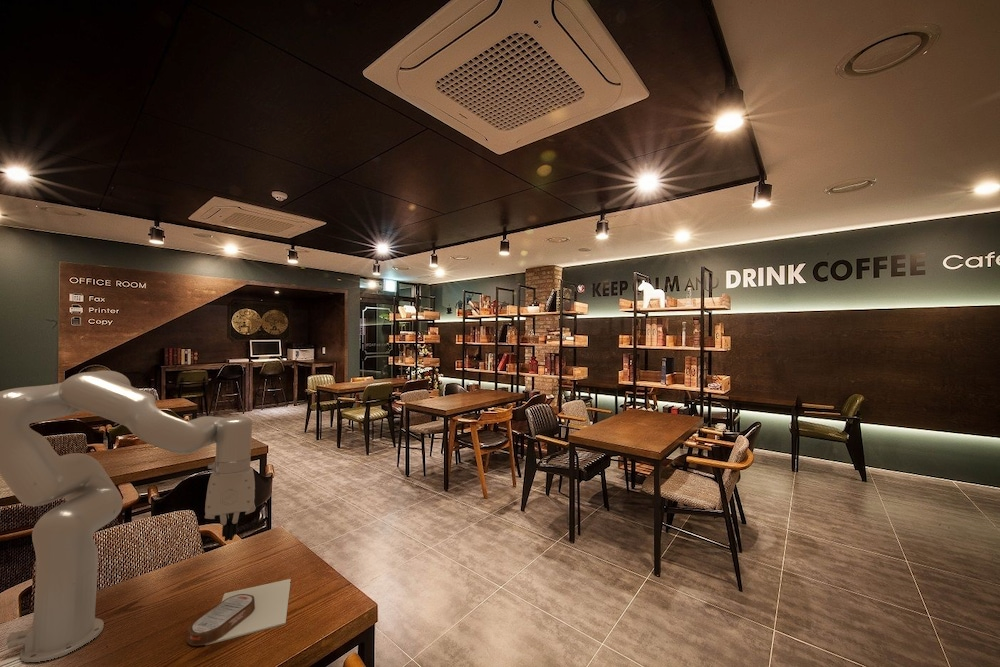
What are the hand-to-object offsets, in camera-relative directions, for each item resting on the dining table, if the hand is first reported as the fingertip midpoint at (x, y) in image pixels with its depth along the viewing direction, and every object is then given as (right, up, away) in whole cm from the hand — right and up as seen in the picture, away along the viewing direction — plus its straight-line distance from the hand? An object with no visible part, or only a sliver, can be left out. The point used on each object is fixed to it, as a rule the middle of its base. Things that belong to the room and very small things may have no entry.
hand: (229, 538), depth 98 cm
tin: (-3, -17, -3) cm, 17 cm away
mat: (+5, -19, +1) cm, 20 cm away
